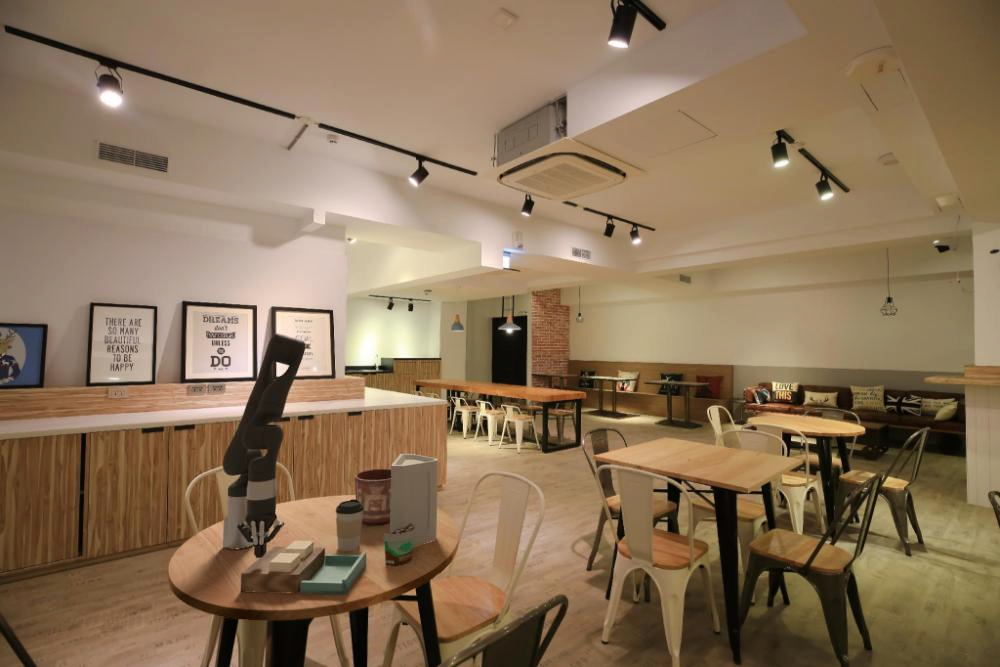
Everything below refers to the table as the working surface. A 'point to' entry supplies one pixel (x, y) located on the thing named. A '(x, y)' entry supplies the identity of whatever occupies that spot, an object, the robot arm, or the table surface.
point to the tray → (335, 574)
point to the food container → (399, 545)
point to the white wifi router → (414, 496)
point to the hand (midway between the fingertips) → (260, 556)
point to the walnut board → (271, 581)
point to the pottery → (374, 495)
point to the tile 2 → (300, 548)
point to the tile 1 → (284, 562)
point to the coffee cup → (349, 524)
